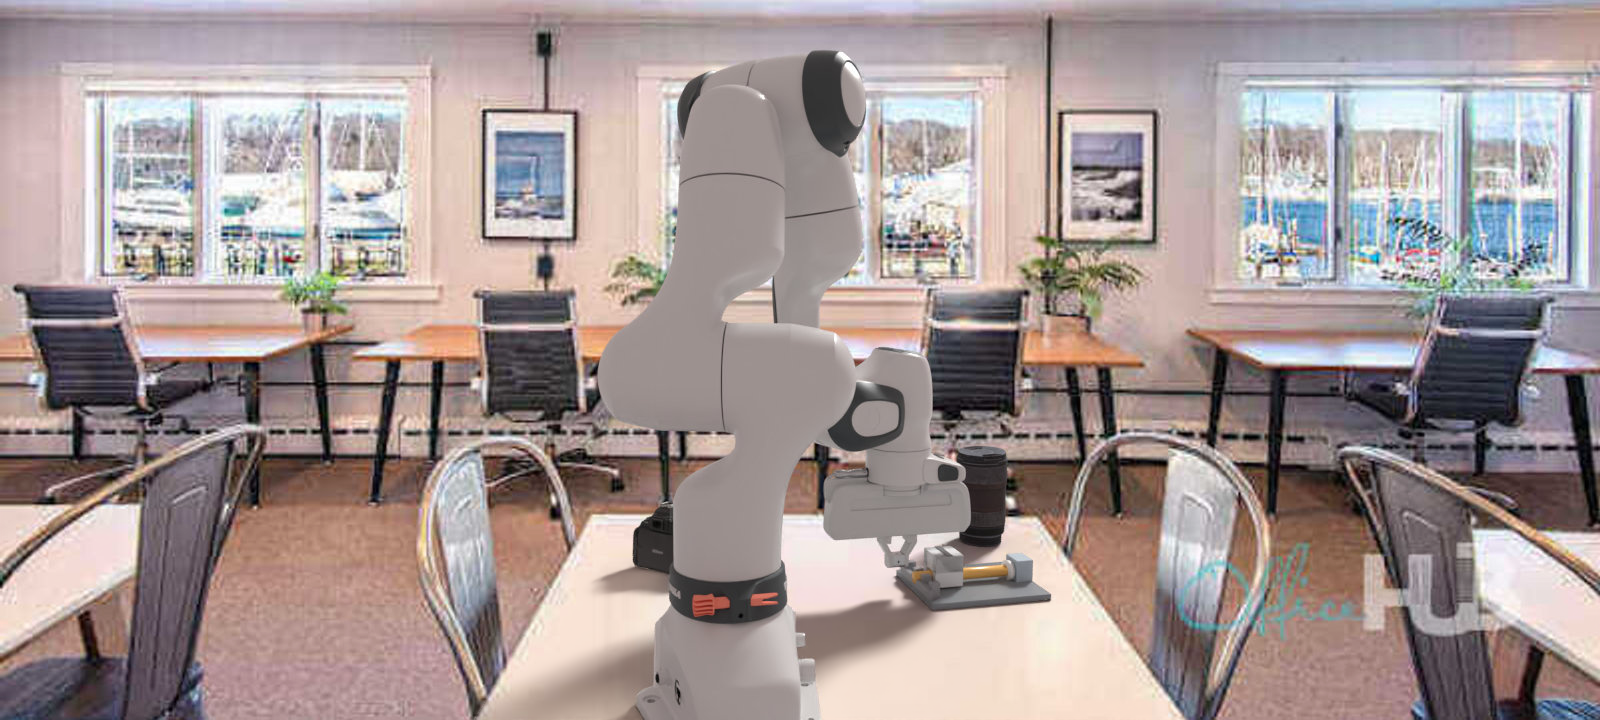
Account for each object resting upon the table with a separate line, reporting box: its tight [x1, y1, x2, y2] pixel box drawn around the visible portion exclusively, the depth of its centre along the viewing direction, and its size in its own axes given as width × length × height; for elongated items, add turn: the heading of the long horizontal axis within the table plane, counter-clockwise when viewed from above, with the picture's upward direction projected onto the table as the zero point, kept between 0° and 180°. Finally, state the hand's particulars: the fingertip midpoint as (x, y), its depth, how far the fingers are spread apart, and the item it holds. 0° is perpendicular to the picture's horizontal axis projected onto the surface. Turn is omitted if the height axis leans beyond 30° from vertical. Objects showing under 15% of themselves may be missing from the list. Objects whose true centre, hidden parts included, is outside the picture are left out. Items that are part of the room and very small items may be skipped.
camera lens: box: [956, 445, 1008, 547], centre depth 152 cm, size 8×8×15 cm
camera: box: [632, 501, 674, 575], centre depth 138 cm, size 13×10×10 cm
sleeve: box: [923, 545, 965, 588], centre depth 130 cm, size 4×4×4 cm
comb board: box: [895, 552, 1052, 611], centre depth 131 cm, size 14×17×4 cm
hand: (896, 566), depth 128 cm, fingers closed
